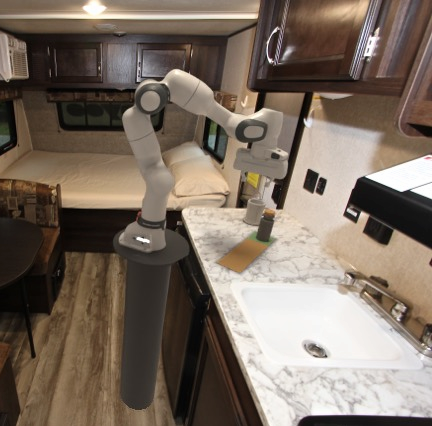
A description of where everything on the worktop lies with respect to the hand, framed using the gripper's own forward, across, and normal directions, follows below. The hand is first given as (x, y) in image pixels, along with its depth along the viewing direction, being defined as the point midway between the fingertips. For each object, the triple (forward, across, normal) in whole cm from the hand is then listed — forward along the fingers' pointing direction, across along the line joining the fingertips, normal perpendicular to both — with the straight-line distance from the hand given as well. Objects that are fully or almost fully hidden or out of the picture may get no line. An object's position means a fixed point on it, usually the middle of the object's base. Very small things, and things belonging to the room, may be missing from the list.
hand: (254, 183), depth 122 cm
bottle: (+31, +4, +16) cm, 35 cm away
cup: (+31, -7, +32) cm, 46 cm away
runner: (+31, +4, -4) cm, 32 cm away
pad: (+31, +4, +16) cm, 35 cm away
